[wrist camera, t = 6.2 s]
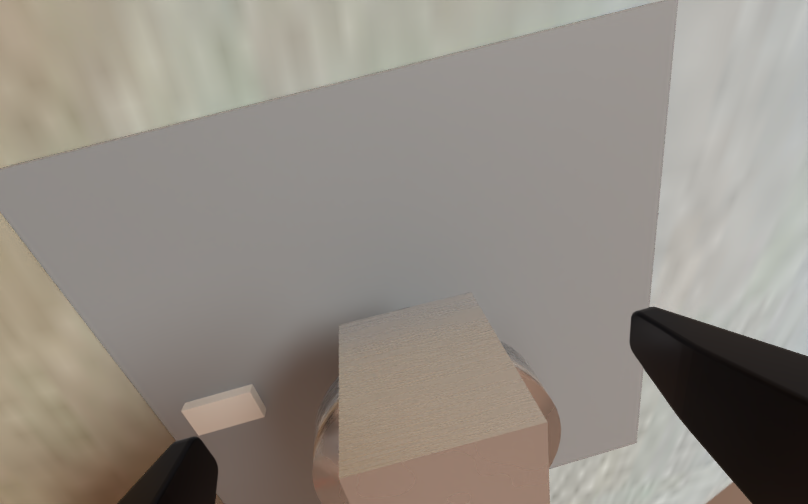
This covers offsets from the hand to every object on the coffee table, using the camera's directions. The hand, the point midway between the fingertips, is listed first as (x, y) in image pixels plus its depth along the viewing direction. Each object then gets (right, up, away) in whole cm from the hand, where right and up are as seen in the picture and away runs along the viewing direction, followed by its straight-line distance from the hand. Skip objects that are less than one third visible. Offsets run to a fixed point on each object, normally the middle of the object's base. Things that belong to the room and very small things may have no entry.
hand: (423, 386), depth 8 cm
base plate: (0, -1, +8) cm, 8 cm away
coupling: (0, -2, +4) cm, 5 cm away
